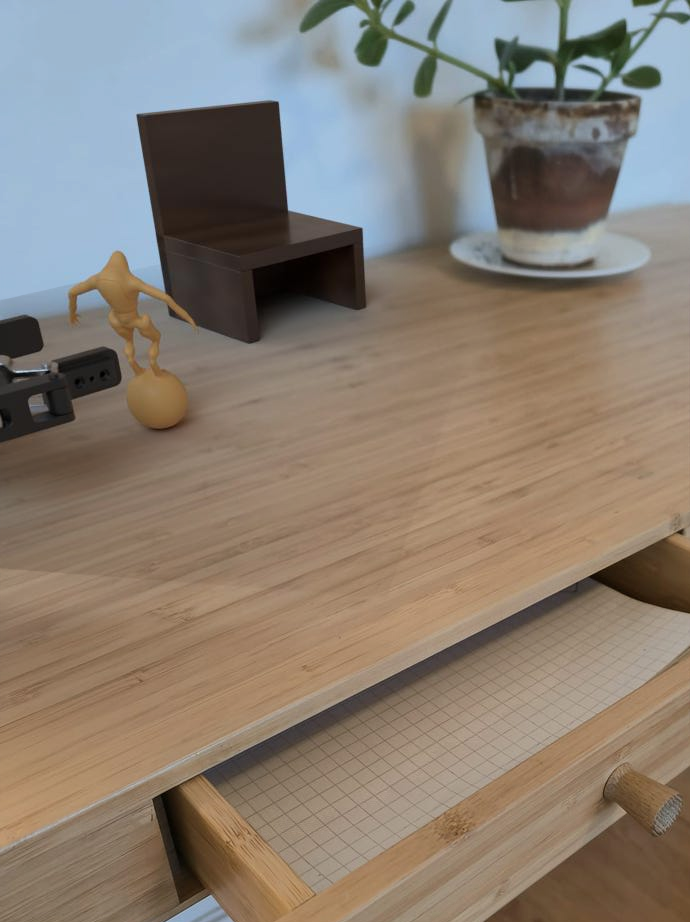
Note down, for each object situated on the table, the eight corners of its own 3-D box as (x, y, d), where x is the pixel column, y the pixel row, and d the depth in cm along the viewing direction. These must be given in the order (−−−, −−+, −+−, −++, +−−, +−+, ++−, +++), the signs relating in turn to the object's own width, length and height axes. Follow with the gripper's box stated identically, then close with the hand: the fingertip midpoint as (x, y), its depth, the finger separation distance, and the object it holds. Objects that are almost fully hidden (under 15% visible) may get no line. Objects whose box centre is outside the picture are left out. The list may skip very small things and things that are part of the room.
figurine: (229, 418, 67) (205, 239, 60) (201, 454, 62) (170, 264, 55) (115, 411, 68) (78, 232, 61) (78, 446, 63) (33, 256, 56)
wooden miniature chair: (168, 315, 86) (135, 113, 76) (286, 284, 94) (270, 99, 85) (249, 343, 80) (223, 129, 71) (366, 307, 89) (357, 113, 80)
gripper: (-184, 390, 42) (133, 309, 52) (-301, 320, 49) (-2, 261, 60) (-125, 538, 46) (157, 437, 57) (-241, 454, 54) (28, 377, 64)
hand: (75, 347), depth 58 cm, fingers open, 8 cm apart
